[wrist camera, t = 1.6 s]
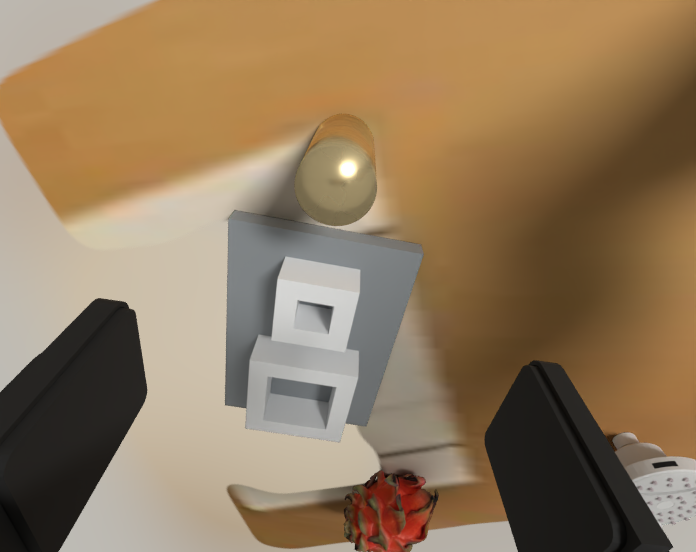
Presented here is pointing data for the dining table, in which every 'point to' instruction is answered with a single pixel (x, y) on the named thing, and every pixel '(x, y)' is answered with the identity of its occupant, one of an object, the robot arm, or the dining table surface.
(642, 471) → the showerhead
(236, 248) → the socket board
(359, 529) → the dragon fruit
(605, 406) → the dining table surface
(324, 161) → the gold rounded cylinder
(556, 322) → the dining table surface
